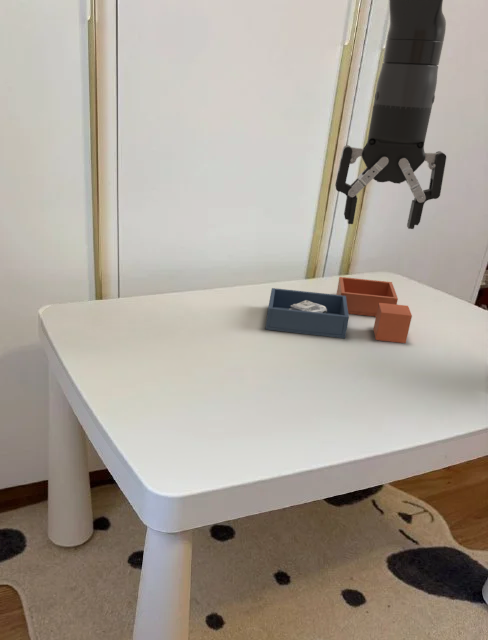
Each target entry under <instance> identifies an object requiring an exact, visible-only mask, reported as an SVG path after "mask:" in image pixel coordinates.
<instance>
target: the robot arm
mask: <svg viewBox="0 0 488 640" xmlns="http://www.w3.org/2000/svg"><path fill="white" fill-rule="evenodd" d="M443 2H444V0H389V1H388V4H389V5H388V7H389V26H388V31H387V36H386V41H385V47H384V53H383V57H382V58H383V59H382V64H381V68H380V71H379V75H378V79H377V83H376V88H375V94H374V99H373V105H372V110H371V111H372V112H371V117H370V123H369V130H368V135H367V141H366V144H365V145H364V146H363V148H361V147H352V146H351V145H348V144H347V145H344V146H343V148H342V151H341V156H340V160H339V165H338V171H337V175H336V179H335V185H334V186H335V190H336V191H337V192H339V193H340V192H341V193H342V194H344V195H345V196H346V199H345V205H344V212H343V215H344V216H343V217H344V220H346V221H347V224H348V225H354V221H355V215H356V210H357V203H358V196H357V195H358V194H359V193H360V192H361V191H362V190H363V189H364V188H365V187H367V185H369V184H370V183H371V182H372V180H374V181H376V182H377V183H386V182H388V183H389V182H390V183H392V184H399V185H400V184H401V183H405V182H406V184H407V186H408V187H409V190H410V191H411V193H412V195H413V197H414V198H413V199H412V200H411V203H410V209H409V214H408V218H407V224H406V227H407V229H408V230H414V229H415V226H419V224H420V223H421V220H422V215H423V210H424V206H425V203H427V201H431V200H437V199H439V198H440V197H441V192H442V186H443V181H444V175H445V168H446V162H447V155H446V154H445V152H442V151H441V150H439V151H436V152H425V142H426V138H427V133H428V128H429V123H430V118H431V113H432V108H433V105H434V102H435V99H436V89H437V84H438V70H439V65H440V60H441V56H442V51H443V45H444V41H445V36H446V28H447V27H446V26H447V21H446V17H445V14H444V13H443ZM360 157H361V158H362V160H363V162H364V164H365V166H366V167H365V169H364V170H362V172H361V173H360V174H359V175H358V176H357V177H356V179H354V181H353V182H352V183H351V184H349V183H347V178H348V173H349V169H350V165H352V164H355V163H356V162H357V160H358V158H360ZM424 162H427V168H428V169H429V170H431V172H430V179H429V186H428V188H426V189H424V190H423V188H422V186H421V185H420V182H419V180H418V179H417V176H416V174H415V172H416V171H417V170H418V169H419V168H420V167H421V166H422V165H423V163H424Z"/></svg>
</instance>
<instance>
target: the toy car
mask: <svg viewBox="0 0 488 640" xmlns="http://www.w3.org/2000/svg"><path fill="white" fill-rule="evenodd" d="M290 310H299V311H308V312H318V313H327V309H326V307H325V306H323V305H320V304H317V303H313V302H310V301H307V300H305V301H303V302H300V303H297V304H293V305H291V308H290Z"/></svg>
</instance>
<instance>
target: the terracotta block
mask: <svg viewBox="0 0 488 640" xmlns="http://www.w3.org/2000/svg"><path fill="white" fill-rule="evenodd" d="M412 318H413V314H412V312H411V310H410V307H409V305H406V304H397V305H396V304H386V303H379V304H378V309H377V313H376V317H375V320H374V324H373V328H372V329H373V334H374V339H375V340H376V341H382V342H392V343H398V344H399V343H400V344H406V343H407V339H408V335H409V331H410V326H411V322H412Z"/></svg>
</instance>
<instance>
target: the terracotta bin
mask: <svg viewBox="0 0 488 640" xmlns="http://www.w3.org/2000/svg"><path fill="white" fill-rule="evenodd" d="M335 295H342V296H346V300H347V307H348V315H357V316H358V315H359V316H367V317H375V318H376V313H377V309H378V304H379V303H386V304H396V305H398V300H399V297H398V295H397V292H396V290H395V287H394V284H393V281H385V280H375V279H365V278H357V277H356V278H355V277H345V276H339V277H338V282H337V289H336V294H335Z"/></svg>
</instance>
